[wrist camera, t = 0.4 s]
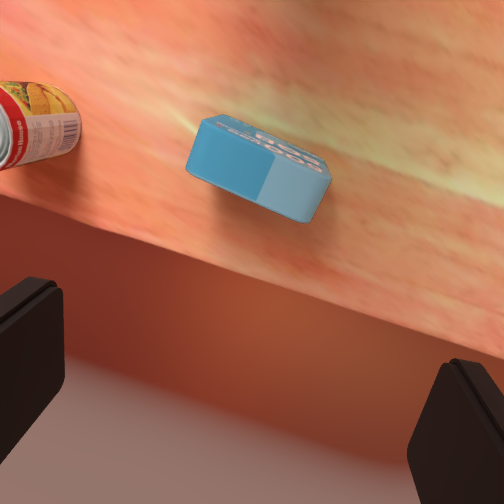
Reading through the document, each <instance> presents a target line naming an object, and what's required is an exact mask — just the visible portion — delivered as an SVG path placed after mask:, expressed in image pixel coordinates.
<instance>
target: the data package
mask: <svg viewBox="0 0 504 504" xmlns="http://www.w3.org/2000/svg"><path fill="white" fill-rule="evenodd" d="M186 170H187V171H188V172H189V173H190V174H191V175H193V176H195V177H196V178H199V179H201V180H203V181H205V182H208V183H210V184H212V185H214V186H217V187H219V188H221V189H223V190H226V191H228V192H230V193H232V194H235V195H237V196H239V197H242V198H244V199H246V200H248V201H251V202H253V203H255V204H257V205H260V206H262V207H264V208H266V209H269V210H271V211H273V212H276V213H278V214H280V215H282V216H285V217H287V218H289V219H291V220H294V221H296V222H300V223H309V222H310V221H311V220H312V218H313V216H314V214H315V212H316V210H317V208H318V206H319V204H320V202H321V200H322V198H323V196H324V194H325V192H326V190H327V188H328V186H329V184H330V182H331V180H332V177H331V175H330V172H329V170H328V168H327V166H326V163H325V161H324V160H323V159H322V158H320V157H318V156H316V155H314V154H312V153H310V152H308V151H306V150H303V149H301V148H299V147H297V146H294V145H292V144H290V143H288V142H286V141H283V140H281V139H279V138H277V137H275V136H272V135H270V134H268V133H266V132H264V131H261V130H259V129H257V128H255V127H253V126H250V125H248V124H246V123H244V122H241V121H239V120H237V119H235V118H232V117H230V116H227V115H219V116H215V117H211V118H208V119H204V120H202V122H201V124H200V127H199V130H198V133H197V136H196V139H195V141H194V144H193V147H192V150H191V153H190V156H189V158H188V161H187V164H186Z"/></svg>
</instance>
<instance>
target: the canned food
mask: <svg viewBox="0 0 504 504" xmlns="http://www.w3.org/2000/svg"><path fill="white" fill-rule="evenodd" d="M80 134H81V120H80V115H79V112H78V110H77V108H76V106H75V104H74V102H73V101H72V100H71V98H70V97H69V96H68V95H67V94H66V93H65V92H63V91H62V90H61V89H59V88H57V87H55V86H53V85H51V84H45V83H35V82H16V81H0V171H2V170H6V169H10V168H14V167H18V166H22V165H26V164H30V163H34V162H38V161H42V160H45V159H49V158H53V157H57V156H61V155H63V154H66V153H68V152H69V151H71V150H72V149H73V148H74V147H75V146H76V144H77V142H78V141H79V138H80Z"/></svg>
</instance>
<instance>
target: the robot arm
mask: <svg viewBox="0 0 504 504" xmlns="http://www.w3.org/2000/svg"><path fill="white" fill-rule="evenodd" d="M64 378H65V363H64V319H63V292H62V289H60V288H57V284H56V282H54V281H52V280H47V279H42V278H36V277H28V278H26V279H24V280H23V281H21V282H20V283H18V284H17V285H15V286H14V287H12V288H11V289H9V290H8V291H6V292H5V293H3V294H2V295H0V464H1V463H2V462H3V460H4V459H5V458H6V457H7V455H8V454H9V453H10V452H11V450H12V449H13V448H14V447H15V445H16V444H17V443H18V442H19V440H20V439H21V438H22V437H23V435H24V434H25V433H26V432H27V430H28V429H29V428H30V427H31V425H32V424H33V423H34V422H35V420H36V419H37V418H38V417H39V415H40V414H41V413H42V412H43V410H44V409H45V408H46V407H47V405H48V404H49V403H50V402H51V401H52V399H53V398H54V397H55V395H56V394H57V393H58V392H59V390H60V389H61V387H62V385H63V382H64ZM407 459H408V463H409V467H410V470H411V473H412V476H413V479H414V483H415V486H416V489H417V492H418V496H419V499H420V502H421V504H504V396H503V394H502V393H501V391H500V390H499V388H498V387H497V385H496V384H495V383H494V381H493V380H492V378H491V377H490V376H489V374H488V373H487V371H486V370H485V368H484V367H483V366H482V365H481V364H480V363H477V362H472V361H466V360H461V359H456V358H454V359H452V360H451V361H450V362H449V363H443V364H442V366H441V367H440V370H439V372H438V374H437V377H436V379H435V382H434V384H433V386H432V389H431V391H430V394H429V396H428V399H427V401H426V403H425V406H424V408H423V411H422V413H421V415H420V418H419V420H418V423H417V425H416V427H415V430H414V432H413V435H412V437H411V439H410V442H409V444H408V448H407Z"/></svg>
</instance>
